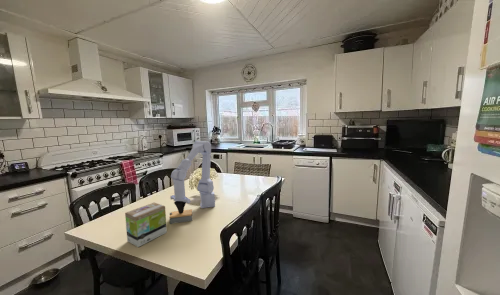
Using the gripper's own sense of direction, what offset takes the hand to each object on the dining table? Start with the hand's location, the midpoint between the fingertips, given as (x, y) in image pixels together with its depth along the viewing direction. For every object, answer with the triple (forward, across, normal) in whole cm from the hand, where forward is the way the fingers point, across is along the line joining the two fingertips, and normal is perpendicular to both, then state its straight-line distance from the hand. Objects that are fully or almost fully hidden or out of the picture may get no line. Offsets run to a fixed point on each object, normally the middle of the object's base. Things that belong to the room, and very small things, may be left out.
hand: (181, 212), depth 117 cm
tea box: (+4, -1, -20) cm, 21 cm away
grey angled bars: (+4, 0, 0) cm, 4 cm away
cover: (+1, 0, 0) cm, 1 cm away
